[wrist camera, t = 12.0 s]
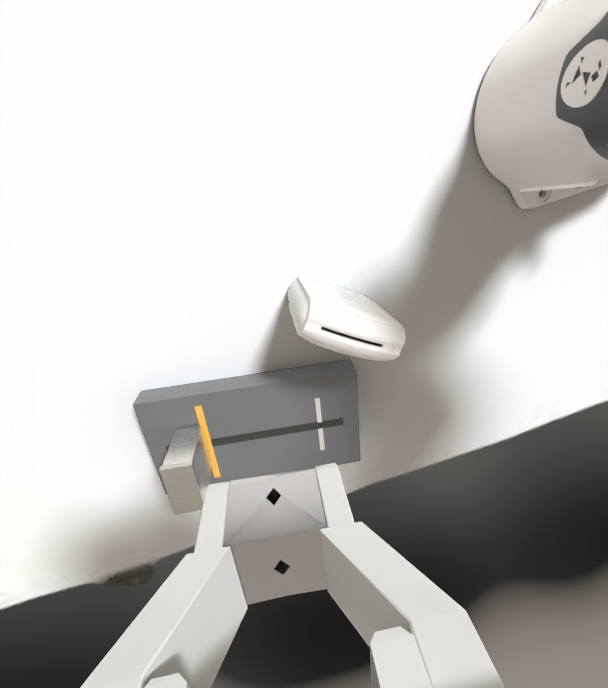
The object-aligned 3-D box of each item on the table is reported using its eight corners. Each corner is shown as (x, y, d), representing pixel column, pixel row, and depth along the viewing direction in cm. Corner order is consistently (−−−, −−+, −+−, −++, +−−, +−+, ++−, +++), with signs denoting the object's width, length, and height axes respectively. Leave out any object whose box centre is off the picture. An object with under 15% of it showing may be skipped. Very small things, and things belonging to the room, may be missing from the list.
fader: (201, 424, 39) (191, 464, 33) (213, 464, 42) (205, 508, 36) (174, 429, 39) (159, 470, 33) (187, 469, 41) (175, 514, 35)
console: (349, 359, 42) (356, 370, 39) (354, 445, 48) (360, 461, 45) (141, 391, 40) (132, 405, 37) (171, 477, 46) (165, 495, 43)
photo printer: (375, 296, 39) (422, 333, 28) (362, 329, 41) (401, 377, 29) (294, 269, 37) (309, 299, 26) (282, 305, 38) (291, 348, 27)
